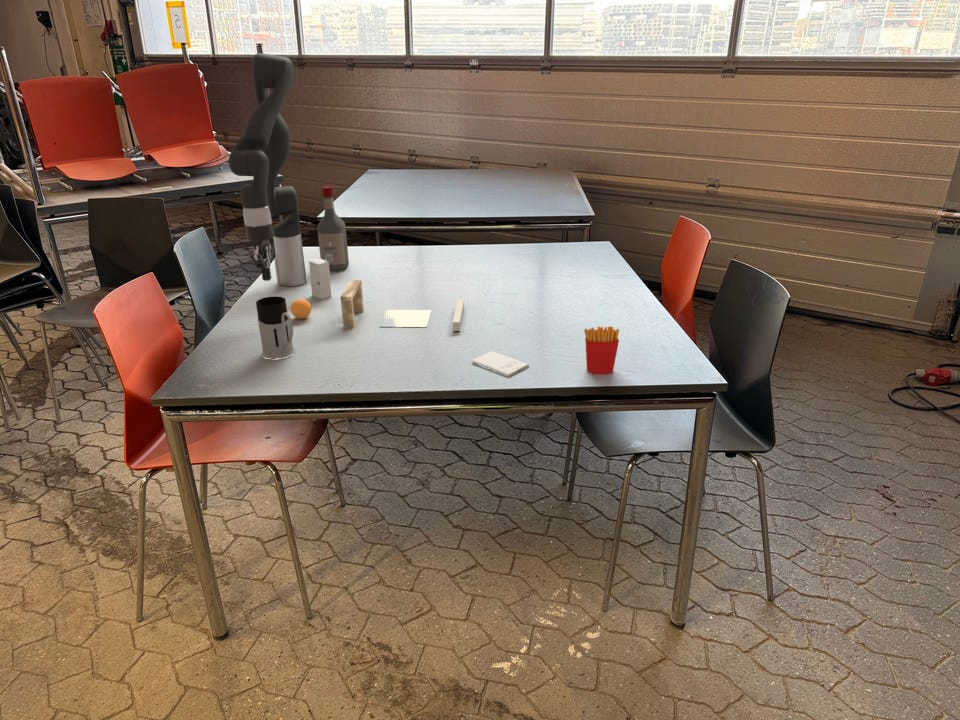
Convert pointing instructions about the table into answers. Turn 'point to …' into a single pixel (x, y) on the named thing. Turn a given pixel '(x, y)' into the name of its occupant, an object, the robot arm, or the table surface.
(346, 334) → the table surface
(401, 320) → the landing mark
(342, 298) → the bridge
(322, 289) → the skincare box
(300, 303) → the ball
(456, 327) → the wall
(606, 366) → the french fries
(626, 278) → the table surface
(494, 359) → the external hard drive
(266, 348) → the glass holder
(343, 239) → the liquor
